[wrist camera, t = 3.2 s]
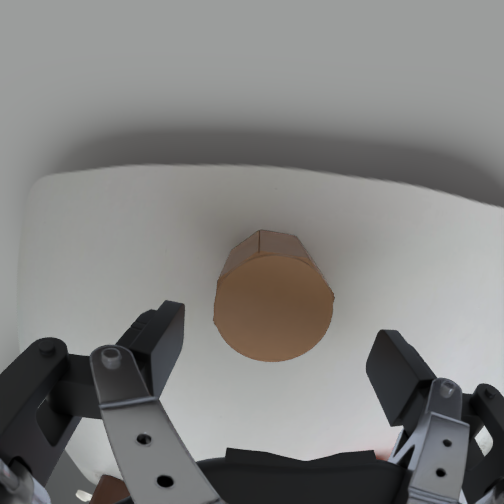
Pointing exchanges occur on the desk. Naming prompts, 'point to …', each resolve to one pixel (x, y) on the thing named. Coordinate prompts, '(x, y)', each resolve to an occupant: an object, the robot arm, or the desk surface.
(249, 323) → the brown octagonal prism
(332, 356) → the desk surface
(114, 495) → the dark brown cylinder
